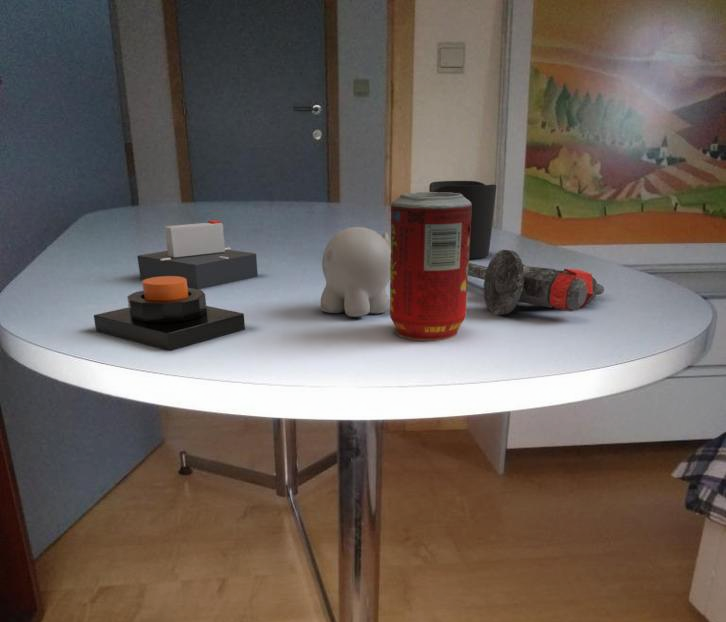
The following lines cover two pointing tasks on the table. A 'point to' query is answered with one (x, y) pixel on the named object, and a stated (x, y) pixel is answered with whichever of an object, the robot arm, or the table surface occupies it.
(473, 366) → the table surface
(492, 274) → the valve
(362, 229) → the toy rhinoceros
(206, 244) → the selector knob
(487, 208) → the pen holder
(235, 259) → the block
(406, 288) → the soda can
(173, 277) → the button
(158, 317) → the control block
